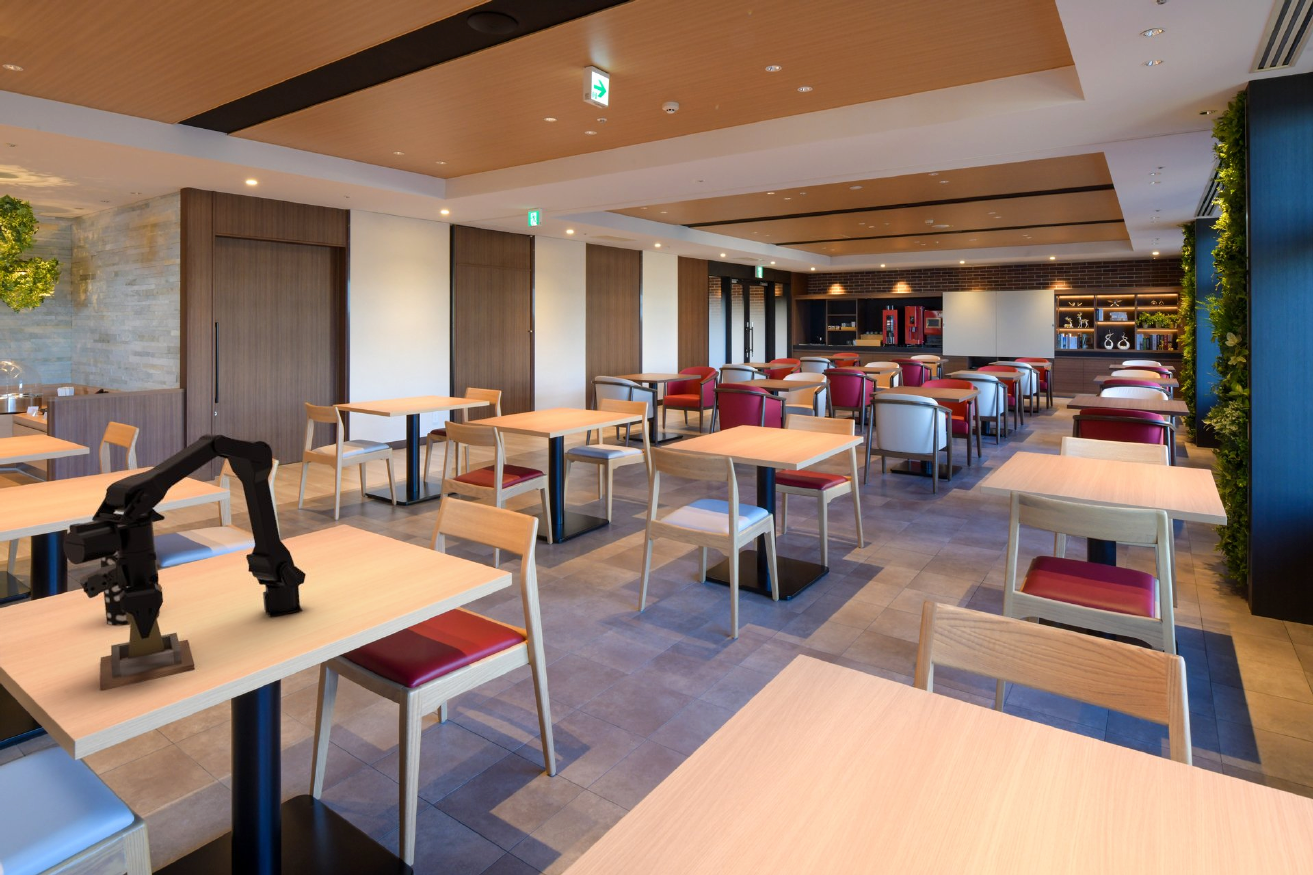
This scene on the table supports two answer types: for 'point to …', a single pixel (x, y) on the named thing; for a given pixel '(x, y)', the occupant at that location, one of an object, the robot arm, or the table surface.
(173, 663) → the shaker holder
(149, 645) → the cork
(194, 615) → the table surface
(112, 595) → the white-spotted black cylinder
